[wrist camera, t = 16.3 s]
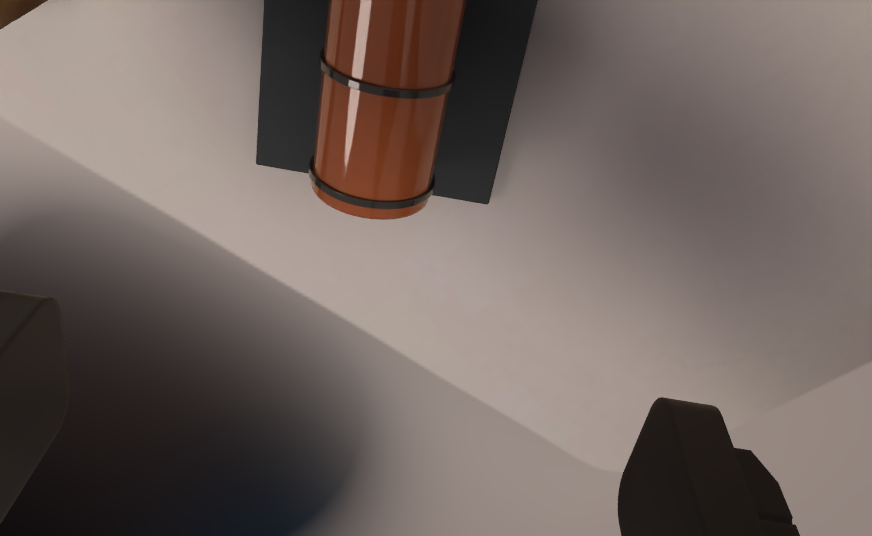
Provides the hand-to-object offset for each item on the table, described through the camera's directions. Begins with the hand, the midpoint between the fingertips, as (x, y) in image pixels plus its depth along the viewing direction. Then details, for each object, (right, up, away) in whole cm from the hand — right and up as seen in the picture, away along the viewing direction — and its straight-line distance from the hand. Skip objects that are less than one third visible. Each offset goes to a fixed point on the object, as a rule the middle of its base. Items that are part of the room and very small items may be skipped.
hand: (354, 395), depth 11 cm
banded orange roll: (0, +13, +18) cm, 22 cm away
